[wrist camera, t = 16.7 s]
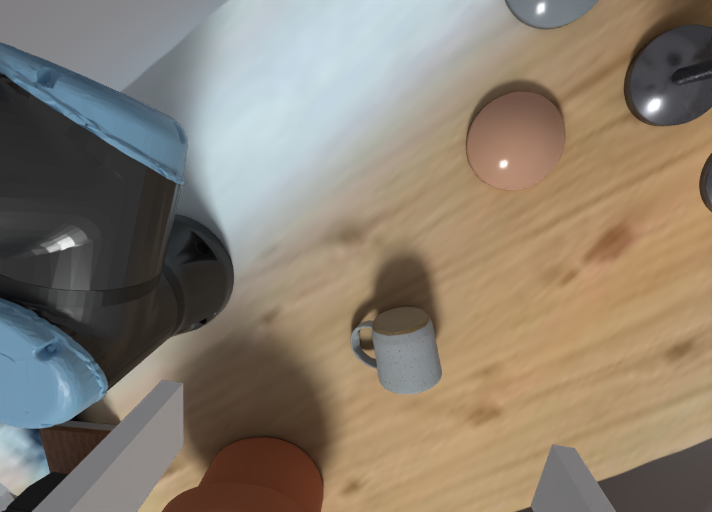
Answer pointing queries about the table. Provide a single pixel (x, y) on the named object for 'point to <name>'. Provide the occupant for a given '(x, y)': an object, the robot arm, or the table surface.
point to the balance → (674, 84)
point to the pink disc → (515, 140)
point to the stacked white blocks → (66, 447)
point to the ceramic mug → (402, 350)
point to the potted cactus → (255, 480)
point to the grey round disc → (549, 11)
